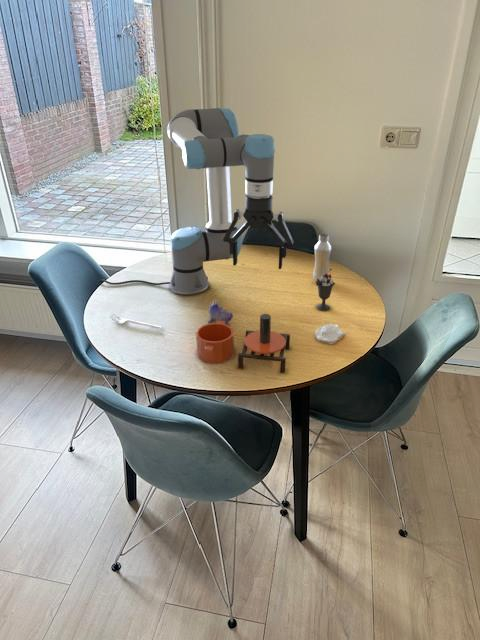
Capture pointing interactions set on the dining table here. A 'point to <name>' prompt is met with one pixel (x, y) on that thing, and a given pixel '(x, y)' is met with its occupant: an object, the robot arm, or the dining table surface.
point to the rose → (329, 333)
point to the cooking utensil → (131, 321)
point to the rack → (262, 356)
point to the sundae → (324, 290)
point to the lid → (265, 338)
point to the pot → (215, 342)
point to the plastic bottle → (321, 257)
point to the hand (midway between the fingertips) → (257, 265)
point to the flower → (219, 314)
